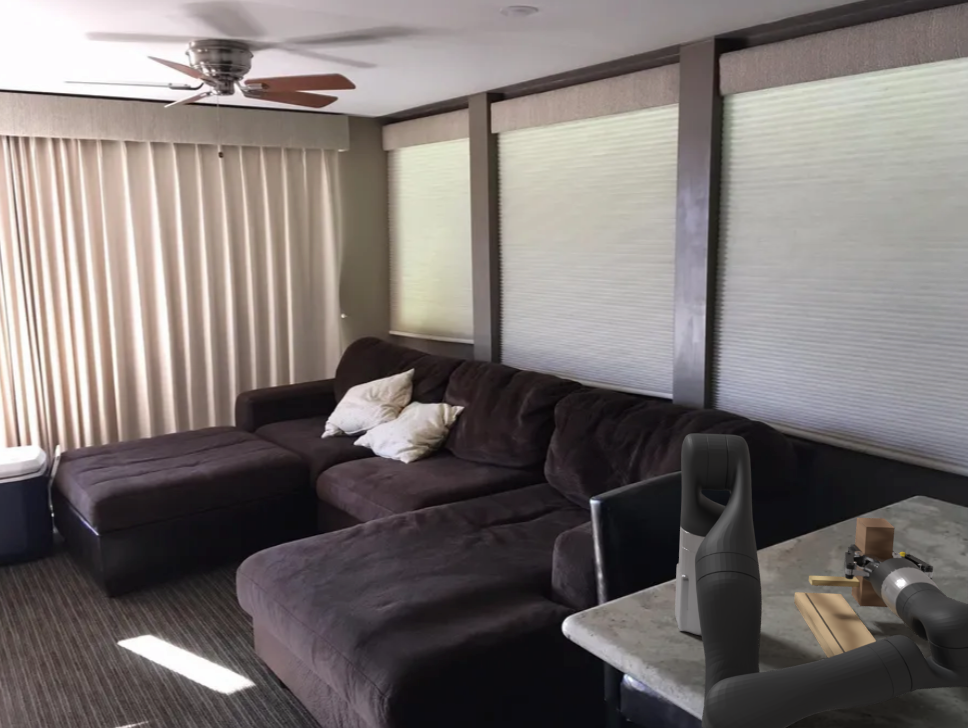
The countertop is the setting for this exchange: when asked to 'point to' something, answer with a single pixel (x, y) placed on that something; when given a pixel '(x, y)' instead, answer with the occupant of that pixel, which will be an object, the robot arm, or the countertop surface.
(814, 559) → the countertop surface
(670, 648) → the countertop surface
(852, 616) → the board
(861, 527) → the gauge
